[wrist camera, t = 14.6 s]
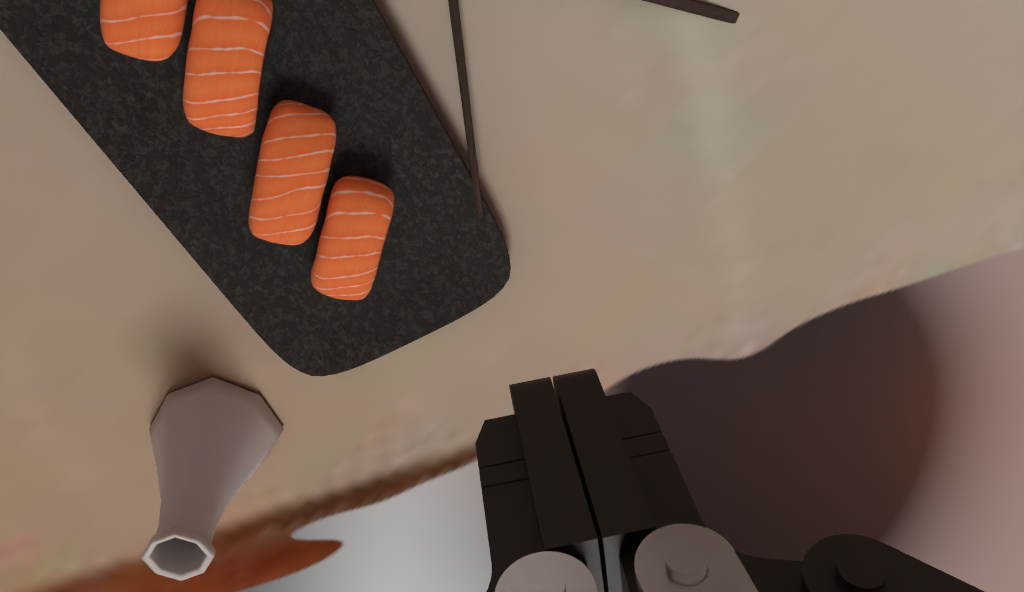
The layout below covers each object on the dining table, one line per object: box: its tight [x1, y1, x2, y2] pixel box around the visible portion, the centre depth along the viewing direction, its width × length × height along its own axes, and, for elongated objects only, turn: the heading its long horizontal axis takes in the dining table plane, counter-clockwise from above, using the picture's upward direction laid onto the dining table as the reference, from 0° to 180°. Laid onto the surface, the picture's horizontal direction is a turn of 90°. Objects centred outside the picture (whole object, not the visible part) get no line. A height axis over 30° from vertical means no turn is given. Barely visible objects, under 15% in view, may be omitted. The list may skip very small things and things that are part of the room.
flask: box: [141, 377, 284, 581], centre depth 41 cm, size 7×7×10 cm
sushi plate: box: [0, 0, 739, 376], centre depth 34 cm, size 29×30×4 cm
